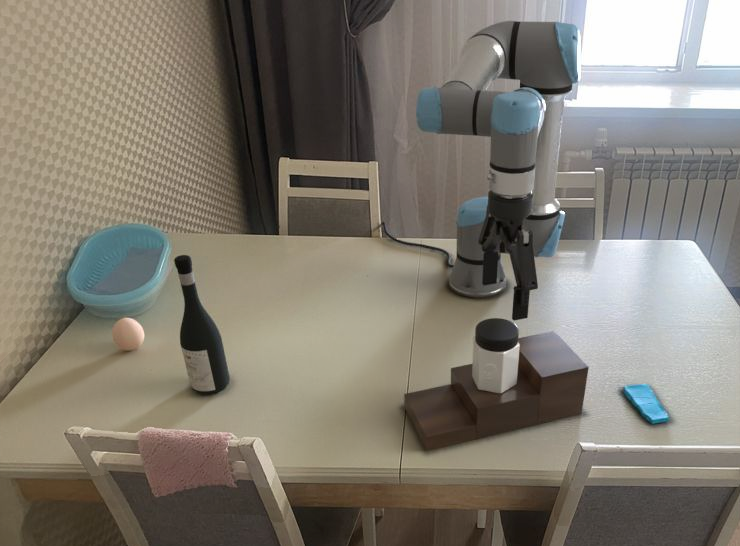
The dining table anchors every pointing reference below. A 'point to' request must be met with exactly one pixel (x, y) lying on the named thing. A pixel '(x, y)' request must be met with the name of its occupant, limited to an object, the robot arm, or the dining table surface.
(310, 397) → the dining table surface
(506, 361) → the jar
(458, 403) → the step shelf
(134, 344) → the egg
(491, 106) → the robot arm
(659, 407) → the sponge
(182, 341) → the wine bottle
